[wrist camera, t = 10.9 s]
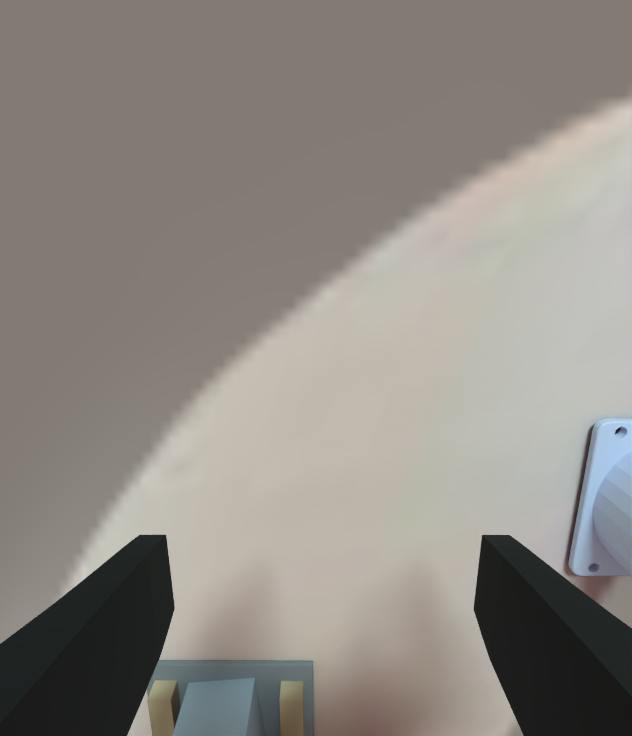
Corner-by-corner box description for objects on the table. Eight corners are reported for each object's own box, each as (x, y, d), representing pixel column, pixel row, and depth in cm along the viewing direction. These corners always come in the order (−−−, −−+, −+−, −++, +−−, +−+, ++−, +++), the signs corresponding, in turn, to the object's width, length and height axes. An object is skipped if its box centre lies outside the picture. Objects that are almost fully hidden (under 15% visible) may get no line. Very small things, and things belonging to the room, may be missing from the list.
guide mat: (312, 661, 22) (312, 666, 22) (314, 791, 25) (314, 797, 24) (145, 660, 22) (143, 665, 22) (164, 790, 25) (162, 796, 25)
